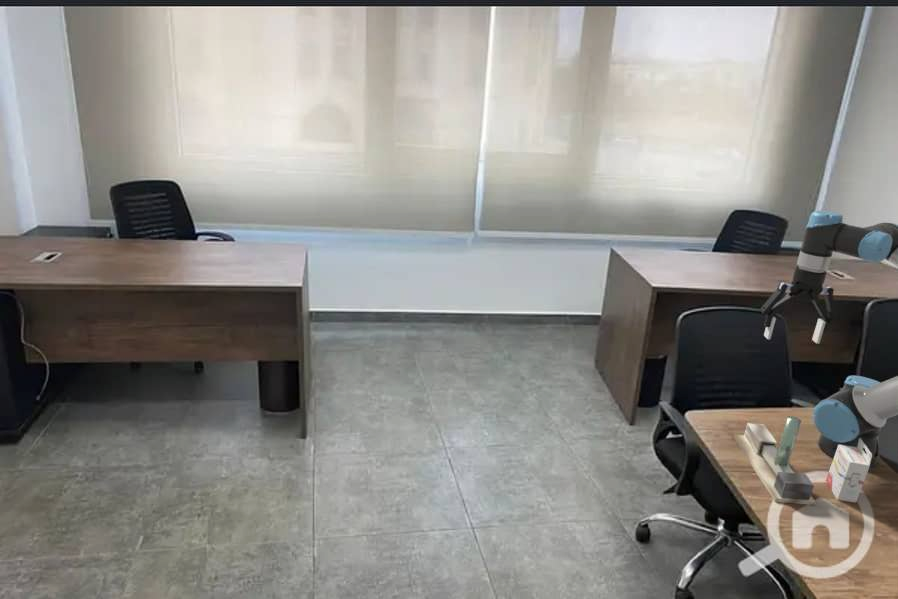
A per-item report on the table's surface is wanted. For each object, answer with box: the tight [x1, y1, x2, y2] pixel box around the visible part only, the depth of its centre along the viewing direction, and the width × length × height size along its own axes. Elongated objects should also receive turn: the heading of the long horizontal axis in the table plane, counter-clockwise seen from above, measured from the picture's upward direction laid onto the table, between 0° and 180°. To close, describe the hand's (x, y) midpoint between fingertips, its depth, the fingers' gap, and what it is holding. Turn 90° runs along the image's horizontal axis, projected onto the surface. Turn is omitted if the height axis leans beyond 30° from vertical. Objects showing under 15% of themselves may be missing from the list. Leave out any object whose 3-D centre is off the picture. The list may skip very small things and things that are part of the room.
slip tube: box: [760, 415, 802, 475], centre depth 169 cm, size 3×20×16 cm, turn 177°
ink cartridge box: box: [825, 438, 872, 503], centre depth 166 cm, size 9×5×15 cm, turn 170°
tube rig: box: [733, 422, 817, 506], centre depth 175 cm, size 10×30×6 cm, turn 177°
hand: (791, 339), depth 181 cm, fingers open, 13 cm apart
